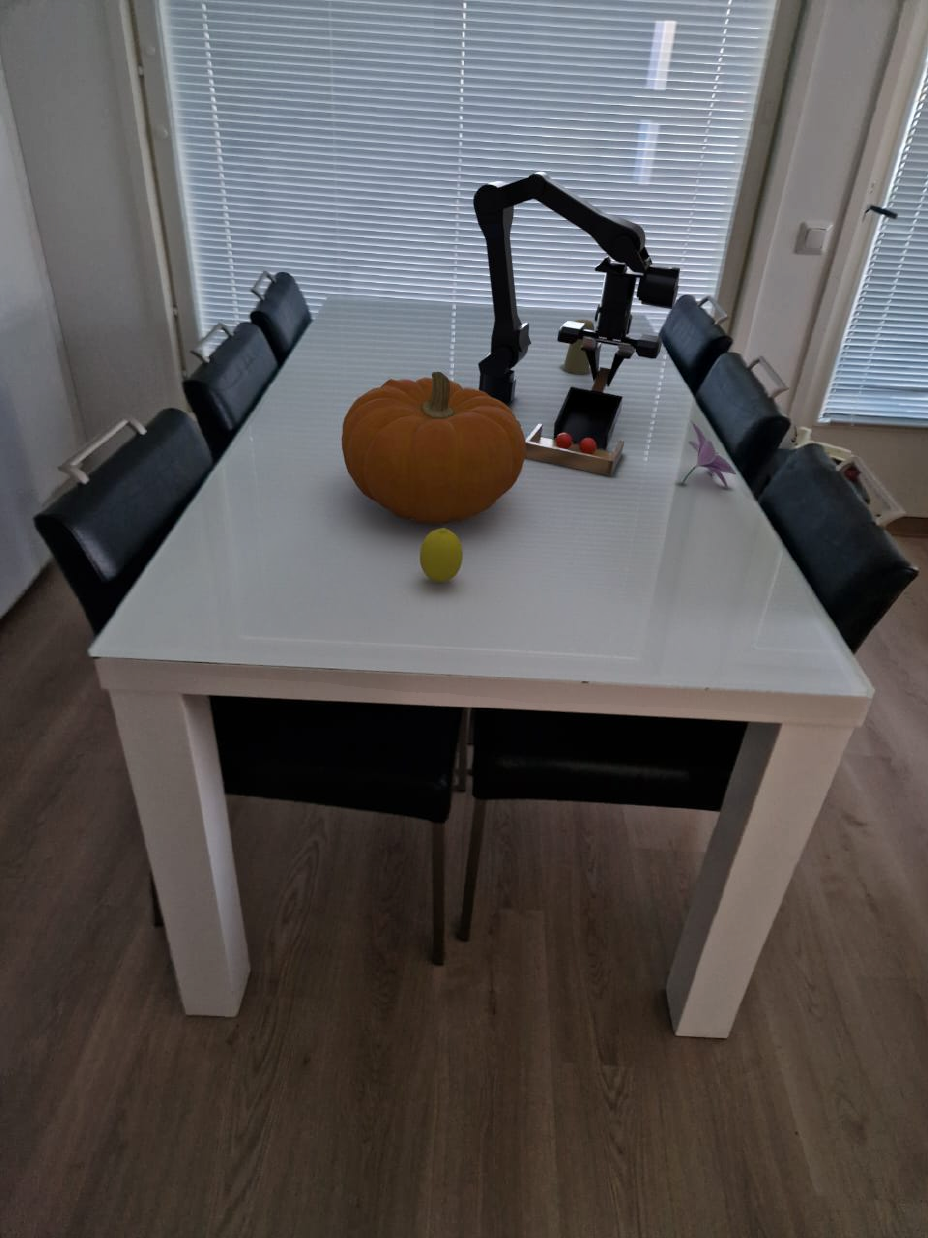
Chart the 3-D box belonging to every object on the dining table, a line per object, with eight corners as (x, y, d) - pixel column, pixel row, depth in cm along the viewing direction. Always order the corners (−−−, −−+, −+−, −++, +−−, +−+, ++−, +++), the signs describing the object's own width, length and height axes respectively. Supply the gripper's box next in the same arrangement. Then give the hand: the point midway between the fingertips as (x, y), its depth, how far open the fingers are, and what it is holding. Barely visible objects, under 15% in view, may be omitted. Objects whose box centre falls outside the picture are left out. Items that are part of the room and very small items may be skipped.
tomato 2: (582, 439, 149) (577, 455, 149) (581, 433, 146) (576, 449, 146) (598, 443, 148) (594, 458, 148) (597, 437, 146) (593, 453, 145)
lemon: (417, 570, 111) (420, 517, 107) (458, 571, 112) (463, 519, 107) (419, 593, 106) (422, 538, 102) (461, 594, 107) (466, 540, 103)
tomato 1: (558, 435, 150) (554, 450, 150) (557, 428, 147) (552, 443, 147) (574, 438, 150) (570, 454, 149) (573, 431, 147) (569, 447, 146)
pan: (579, 378, 163) (580, 362, 160) (629, 387, 160) (631, 372, 157) (553, 438, 153) (554, 423, 150) (606, 449, 151) (608, 434, 148)
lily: (725, 510, 137) (759, 459, 134) (665, 474, 135) (699, 422, 133) (707, 500, 148) (739, 453, 146) (652, 466, 147) (683, 418, 144)
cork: (588, 375, 187) (596, 325, 180) (561, 371, 187) (568, 321, 181) (590, 367, 192) (598, 318, 185) (564, 363, 192) (571, 315, 186)
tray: (521, 456, 145) (523, 441, 144) (536, 437, 153) (538, 423, 152) (610, 476, 142) (613, 461, 140) (621, 455, 150) (624, 441, 148)
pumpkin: (361, 453, 141) (363, 334, 130) (522, 472, 140) (538, 354, 129) (320, 531, 118) (318, 394, 106) (513, 555, 117) (531, 419, 105)
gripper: (674, 299, 154) (656, 382, 163) (577, 283, 159) (564, 365, 167) (665, 312, 145) (647, 398, 154) (562, 295, 150) (550, 380, 159)
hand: (601, 384), depth 159 cm, fingers closed on pan, 2 cm apart
